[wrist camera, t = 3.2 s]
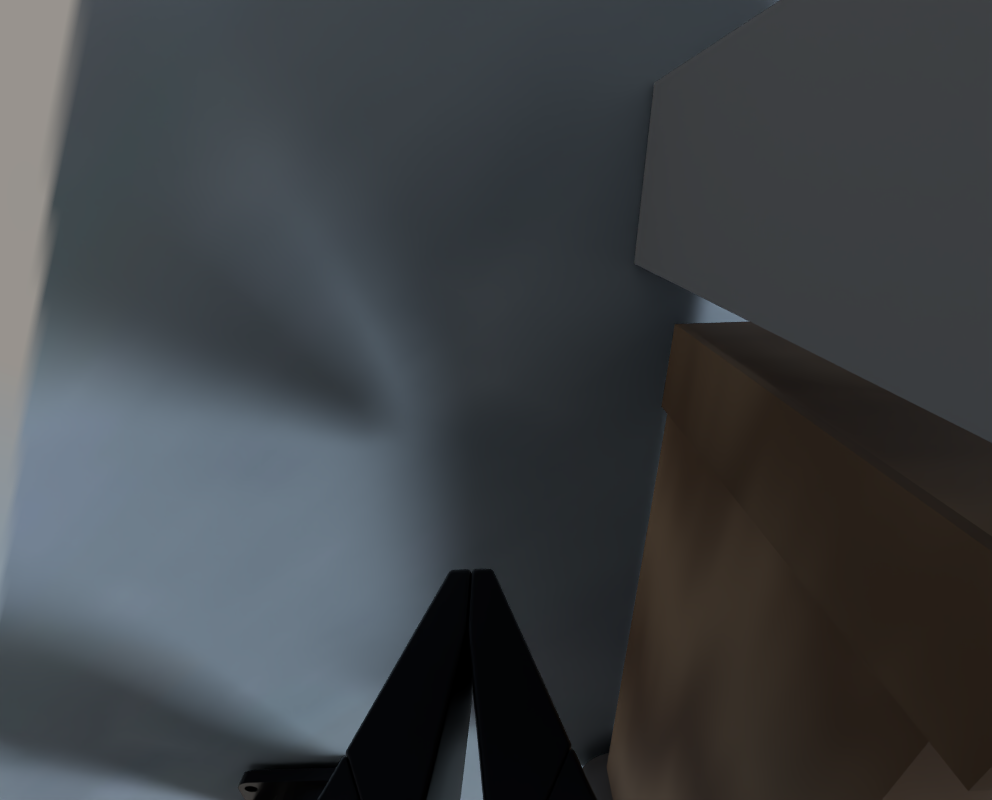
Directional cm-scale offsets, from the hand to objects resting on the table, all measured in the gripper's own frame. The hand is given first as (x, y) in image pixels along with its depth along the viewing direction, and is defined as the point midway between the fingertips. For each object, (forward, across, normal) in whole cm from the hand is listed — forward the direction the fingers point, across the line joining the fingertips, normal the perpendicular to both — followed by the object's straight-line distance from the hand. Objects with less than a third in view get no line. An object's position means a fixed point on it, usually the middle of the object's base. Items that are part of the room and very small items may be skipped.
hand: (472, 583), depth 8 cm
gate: (+3, -5, +5) cm, 8 cm away
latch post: (+3, -5, -7) cm, 9 cm away
